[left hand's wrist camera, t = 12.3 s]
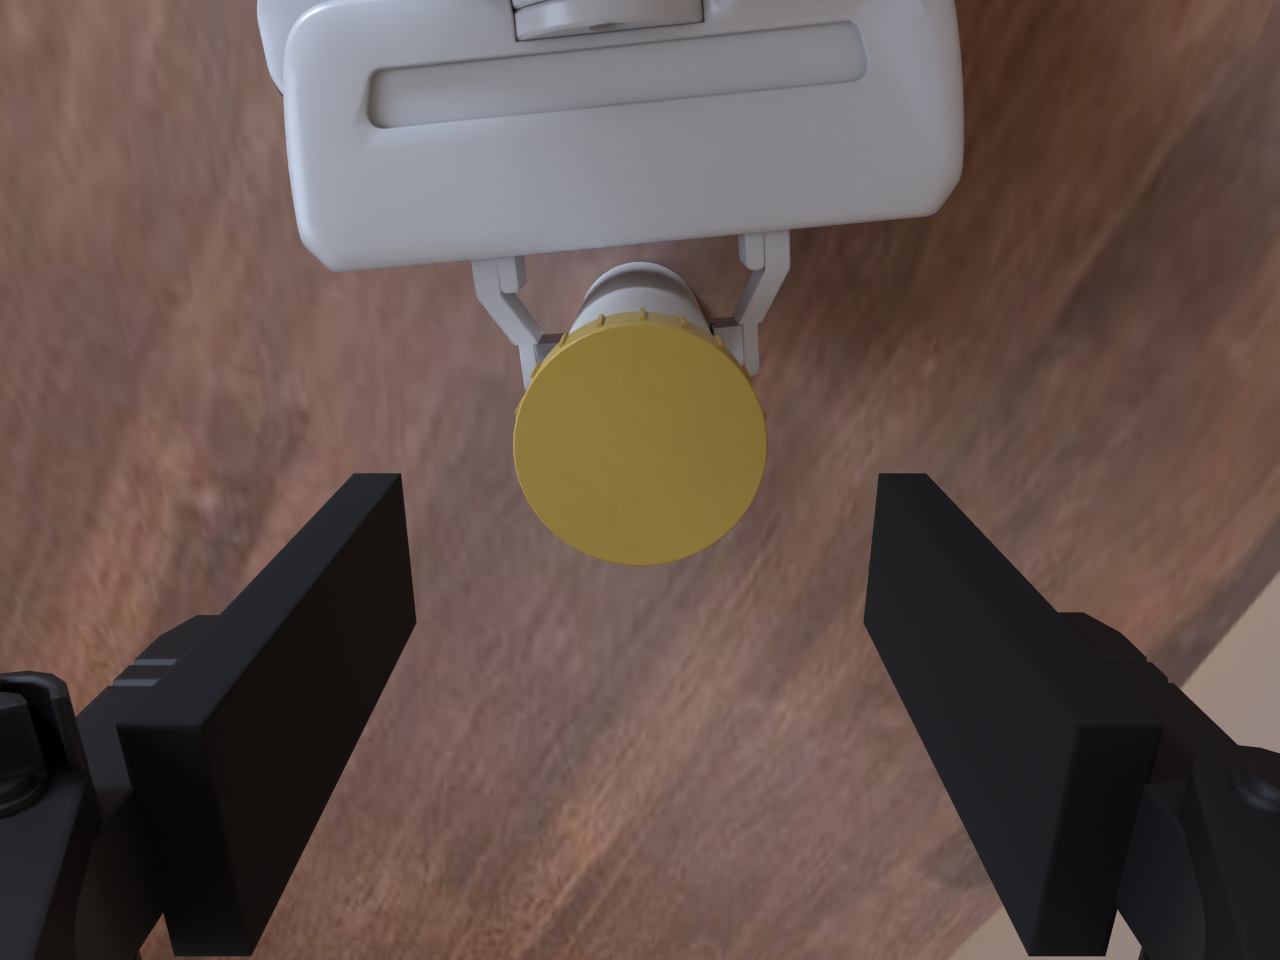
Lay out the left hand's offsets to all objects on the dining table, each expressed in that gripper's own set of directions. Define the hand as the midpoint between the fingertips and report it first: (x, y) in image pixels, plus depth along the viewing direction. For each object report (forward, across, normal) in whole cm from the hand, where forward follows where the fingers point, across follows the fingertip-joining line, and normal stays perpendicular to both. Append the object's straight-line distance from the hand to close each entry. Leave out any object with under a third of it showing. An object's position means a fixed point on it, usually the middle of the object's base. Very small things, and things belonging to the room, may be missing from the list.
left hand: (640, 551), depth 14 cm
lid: (+6, 0, 0) cm, 6 cm away
